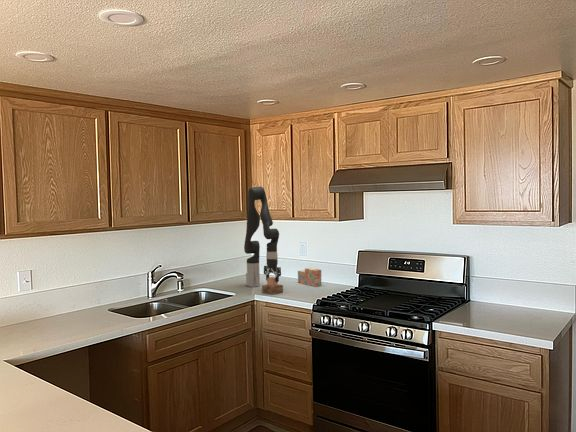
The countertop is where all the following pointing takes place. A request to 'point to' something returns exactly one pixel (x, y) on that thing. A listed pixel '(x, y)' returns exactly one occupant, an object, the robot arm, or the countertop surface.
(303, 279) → the stack of blocks
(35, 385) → the countertop surface
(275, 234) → the robot arm
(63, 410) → the countertop surface
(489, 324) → the countertop surface
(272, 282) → the terracotta cube
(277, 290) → the walnut block
